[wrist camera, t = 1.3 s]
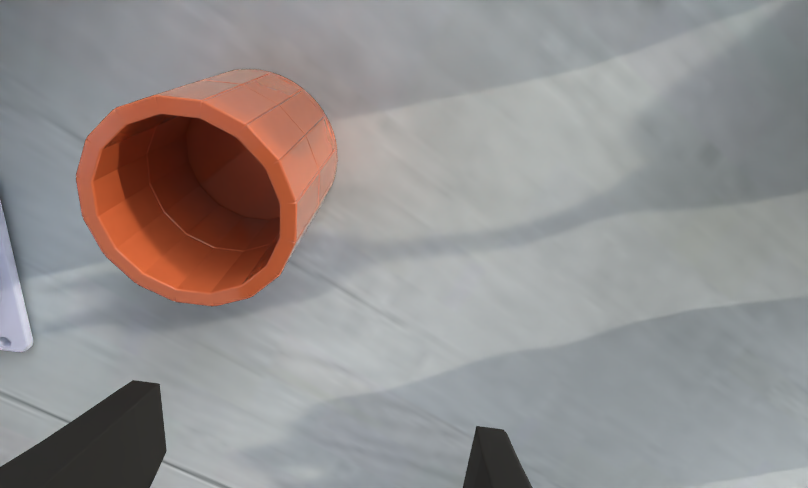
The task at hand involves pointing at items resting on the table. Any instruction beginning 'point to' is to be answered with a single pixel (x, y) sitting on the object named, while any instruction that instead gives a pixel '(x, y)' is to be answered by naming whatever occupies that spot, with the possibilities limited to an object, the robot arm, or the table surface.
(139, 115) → the orange faceted tumbler
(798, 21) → the table surface
